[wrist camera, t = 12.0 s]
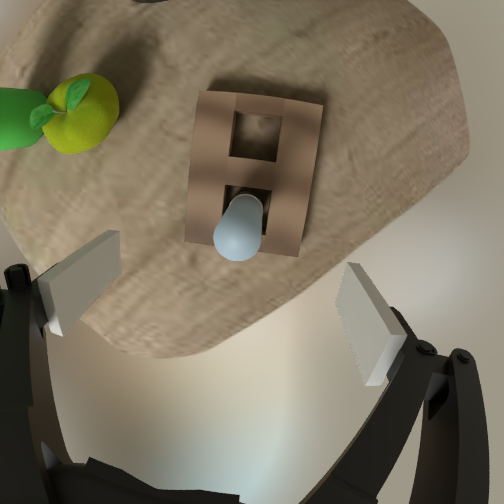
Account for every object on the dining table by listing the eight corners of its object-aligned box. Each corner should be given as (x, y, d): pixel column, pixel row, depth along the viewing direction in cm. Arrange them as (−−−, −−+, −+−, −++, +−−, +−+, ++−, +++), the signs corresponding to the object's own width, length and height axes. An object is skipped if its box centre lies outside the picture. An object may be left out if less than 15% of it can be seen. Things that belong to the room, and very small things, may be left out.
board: (204, 94, 28) (199, 90, 25) (318, 108, 28) (323, 105, 25) (189, 235, 34) (184, 241, 31) (295, 249, 34) (297, 257, 31)
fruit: (72, 98, 27) (23, 92, 18) (128, 72, 26) (84, 53, 17) (80, 159, 30) (30, 168, 21) (137, 138, 30) (92, 137, 20)
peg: (232, 188, 31) (214, 211, 20) (264, 192, 31) (265, 218, 20) (229, 219, 33) (211, 258, 22) (260, 223, 33) (258, 264, 22)
